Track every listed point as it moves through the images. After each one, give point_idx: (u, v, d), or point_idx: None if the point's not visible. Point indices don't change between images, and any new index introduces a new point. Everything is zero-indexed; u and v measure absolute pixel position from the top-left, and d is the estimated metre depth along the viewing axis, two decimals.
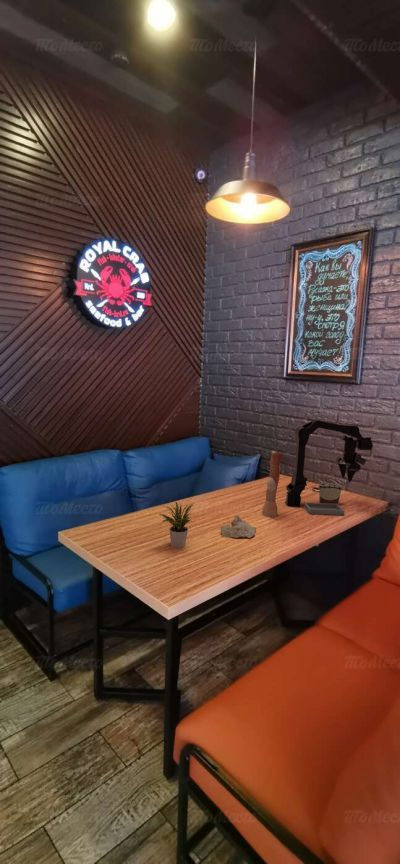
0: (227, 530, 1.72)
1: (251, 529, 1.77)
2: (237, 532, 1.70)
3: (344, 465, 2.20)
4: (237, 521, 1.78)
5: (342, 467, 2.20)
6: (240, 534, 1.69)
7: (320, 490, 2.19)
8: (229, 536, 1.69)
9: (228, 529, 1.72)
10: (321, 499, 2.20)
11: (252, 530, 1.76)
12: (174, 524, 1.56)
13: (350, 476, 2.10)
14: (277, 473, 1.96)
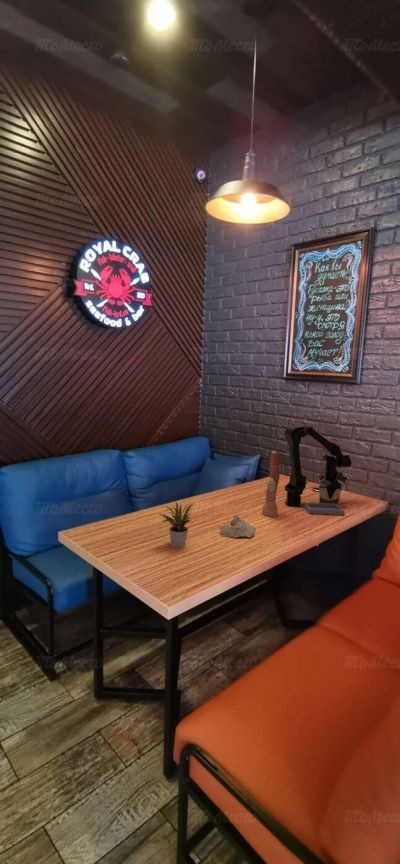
0: (227, 530, 1.72)
1: (250, 529, 1.77)
2: (237, 532, 1.70)
3: (327, 483, 2.25)
4: (236, 521, 1.78)
5: None
6: (240, 534, 1.70)
7: (320, 490, 2.19)
8: (229, 536, 1.69)
9: (228, 529, 1.72)
10: (321, 499, 2.20)
11: (251, 530, 1.77)
12: (174, 524, 1.56)
13: (330, 493, 2.17)
14: (277, 473, 1.96)
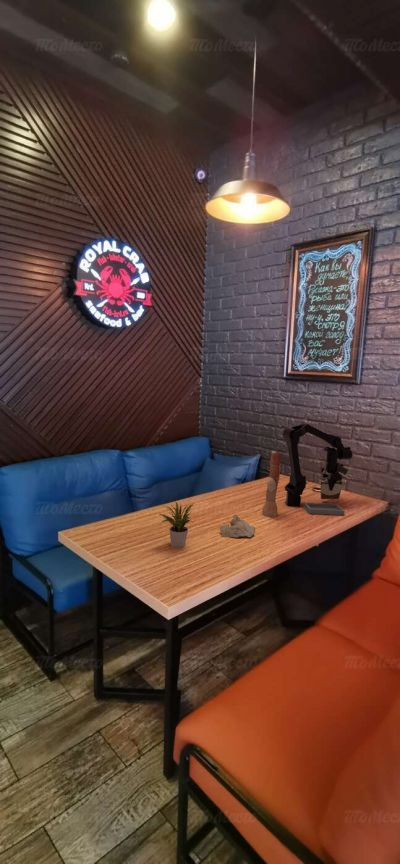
0: (227, 530, 1.72)
1: (250, 528, 1.77)
2: (237, 532, 1.71)
3: (328, 475, 2.24)
4: (236, 521, 1.79)
5: None
6: (240, 534, 1.70)
7: (321, 486, 2.19)
8: (229, 536, 1.69)
9: (228, 529, 1.72)
10: (322, 495, 2.20)
11: (251, 529, 1.77)
12: (174, 524, 1.56)
13: (331, 485, 2.17)
14: (277, 473, 1.96)
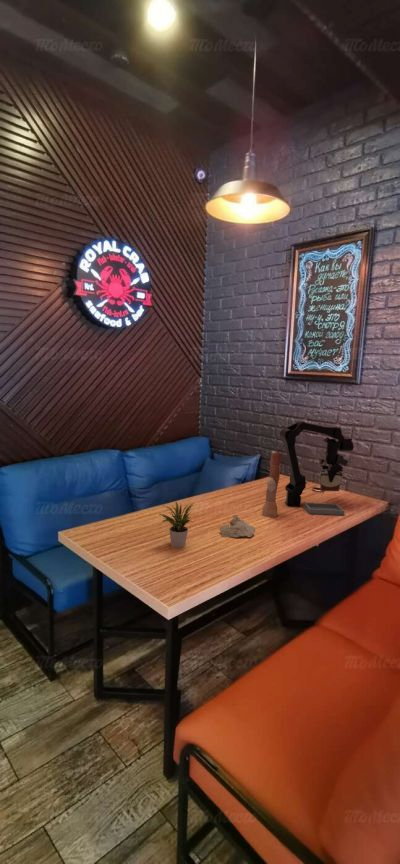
0: (227, 530, 1.72)
1: (250, 528, 1.77)
2: (237, 532, 1.71)
3: (328, 467, 2.21)
4: (236, 521, 1.79)
5: None
6: (240, 534, 1.70)
7: (321, 478, 2.16)
8: (229, 536, 1.69)
9: (228, 529, 1.72)
10: (322, 486, 2.17)
11: (251, 529, 1.77)
12: (174, 524, 1.56)
13: (331, 476, 2.14)
14: (277, 473, 1.96)
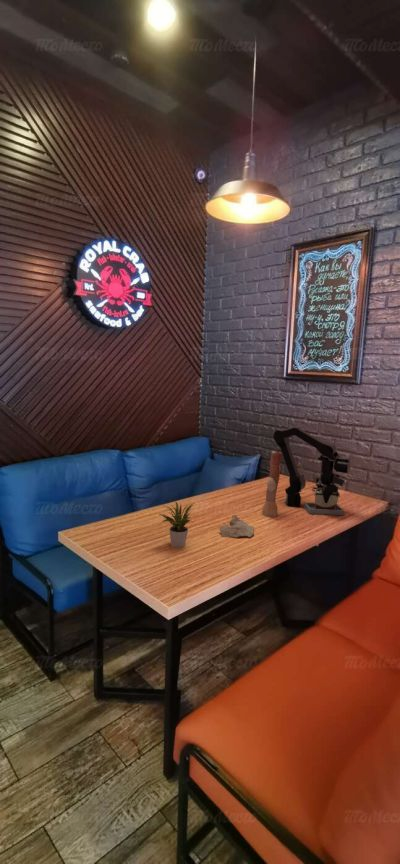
0: (227, 530, 1.72)
1: (249, 528, 1.78)
2: (237, 531, 1.71)
3: (323, 486, 2.10)
4: (235, 520, 1.79)
5: None
6: (240, 533, 1.70)
7: (316, 497, 2.04)
8: (229, 536, 1.69)
9: (227, 529, 1.72)
10: (317, 506, 2.05)
11: (250, 529, 1.77)
12: (174, 524, 1.56)
13: (326, 497, 2.03)
14: (277, 473, 1.96)
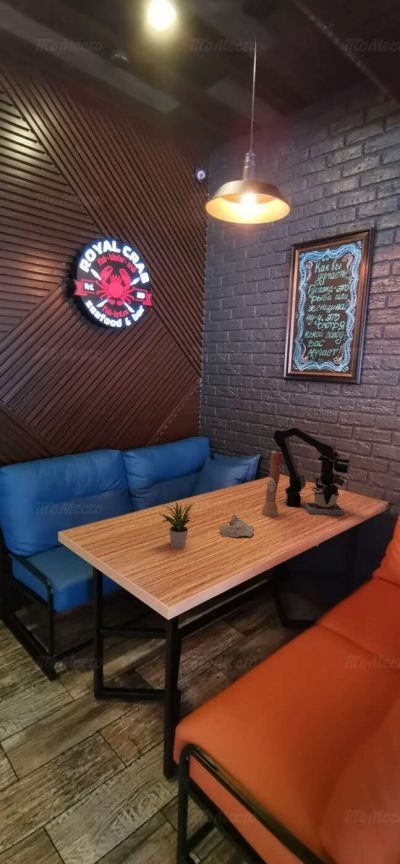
0: (226, 530, 1.72)
1: (249, 528, 1.78)
2: (237, 531, 1.71)
3: (322, 486, 2.11)
4: (235, 520, 1.79)
5: None
6: (240, 533, 1.70)
7: (316, 497, 2.05)
8: (229, 536, 1.69)
9: (227, 529, 1.72)
10: (317, 506, 2.06)
11: (250, 529, 1.77)
12: (174, 524, 1.56)
13: (327, 498, 2.01)
14: (277, 473, 1.96)
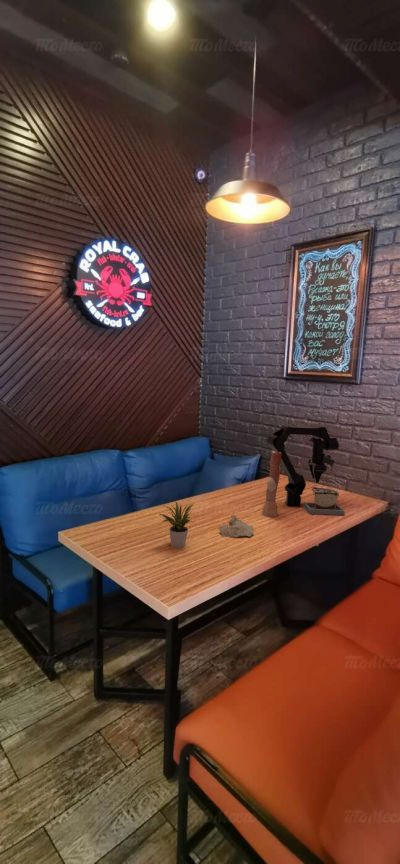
0: (226, 530, 1.72)
1: (248, 528, 1.78)
2: (236, 531, 1.71)
3: None
4: (234, 520, 1.79)
5: (312, 468, 2.22)
6: (240, 533, 1.70)
7: (316, 496, 2.05)
8: (229, 536, 1.69)
9: (227, 529, 1.72)
10: (317, 506, 2.06)
11: (250, 529, 1.78)
12: (174, 524, 1.56)
13: (317, 477, 2.12)
14: (277, 473, 1.96)
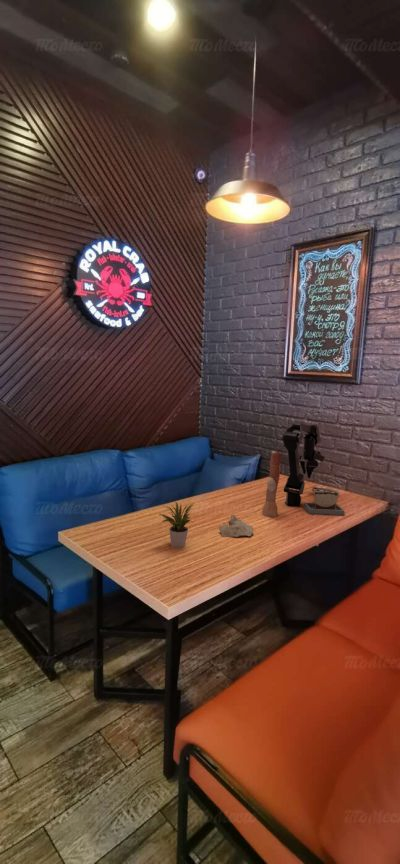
0: (226, 530, 1.72)
1: (248, 527, 1.78)
2: (236, 531, 1.71)
3: (305, 462, 2.33)
4: (234, 520, 1.79)
5: (303, 464, 2.33)
6: (240, 533, 1.70)
7: (316, 496, 2.05)
8: (229, 535, 1.69)
9: (227, 529, 1.72)
10: (317, 506, 2.06)
11: (249, 528, 1.78)
12: (174, 524, 1.56)
13: (309, 472, 2.23)
14: (277, 473, 1.96)
